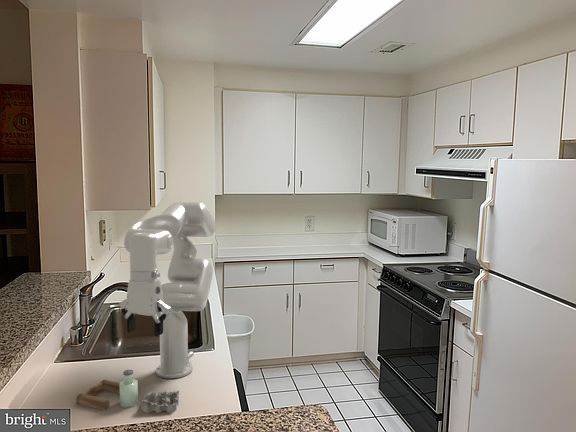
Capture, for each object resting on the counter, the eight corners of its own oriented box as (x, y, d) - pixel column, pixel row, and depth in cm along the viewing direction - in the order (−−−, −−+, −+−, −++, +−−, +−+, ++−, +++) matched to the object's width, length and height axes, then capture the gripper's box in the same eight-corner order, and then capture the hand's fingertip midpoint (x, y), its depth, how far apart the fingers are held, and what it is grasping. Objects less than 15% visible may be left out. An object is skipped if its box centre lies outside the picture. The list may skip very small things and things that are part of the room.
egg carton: (138, 414, 131) (138, 400, 131) (146, 401, 139) (146, 388, 138) (175, 414, 131) (174, 400, 131) (181, 401, 139) (180, 388, 138)
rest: (104, 386, 147) (104, 379, 147) (131, 392, 144) (130, 385, 143) (76, 403, 136) (76, 396, 136) (104, 410, 133) (104, 402, 133)
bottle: (127, 397, 140) (126, 366, 139) (141, 400, 138) (140, 369, 138) (116, 405, 135) (115, 373, 134) (130, 408, 134) (129, 376, 133)
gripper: (176, 275, 131) (177, 332, 133) (128, 270, 137) (129, 325, 139) (160, 280, 124) (161, 341, 126) (110, 275, 130) (112, 333, 132)
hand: (145, 332), depth 132 cm, fingers open, 9 cm apart
